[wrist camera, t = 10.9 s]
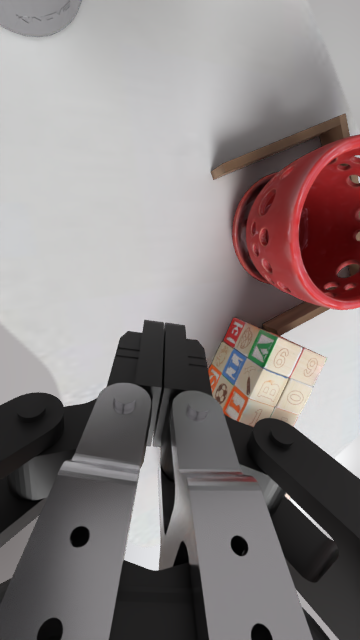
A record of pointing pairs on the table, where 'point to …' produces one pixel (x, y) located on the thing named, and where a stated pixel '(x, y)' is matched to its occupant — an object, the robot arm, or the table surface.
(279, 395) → the stack of blocks
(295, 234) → the plant pot
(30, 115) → the table surface
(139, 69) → the table surface
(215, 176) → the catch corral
